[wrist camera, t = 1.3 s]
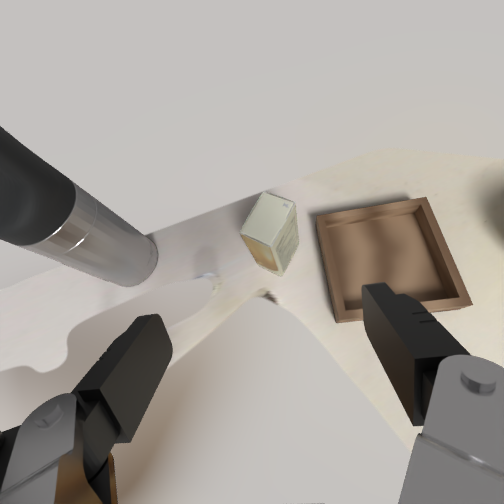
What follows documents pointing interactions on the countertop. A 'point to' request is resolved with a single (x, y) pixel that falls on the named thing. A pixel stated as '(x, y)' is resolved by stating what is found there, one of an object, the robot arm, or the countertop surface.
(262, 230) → the skincare box
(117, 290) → the countertop surface
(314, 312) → the countertop surface
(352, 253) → the walnut tray
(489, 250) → the countertop surface
